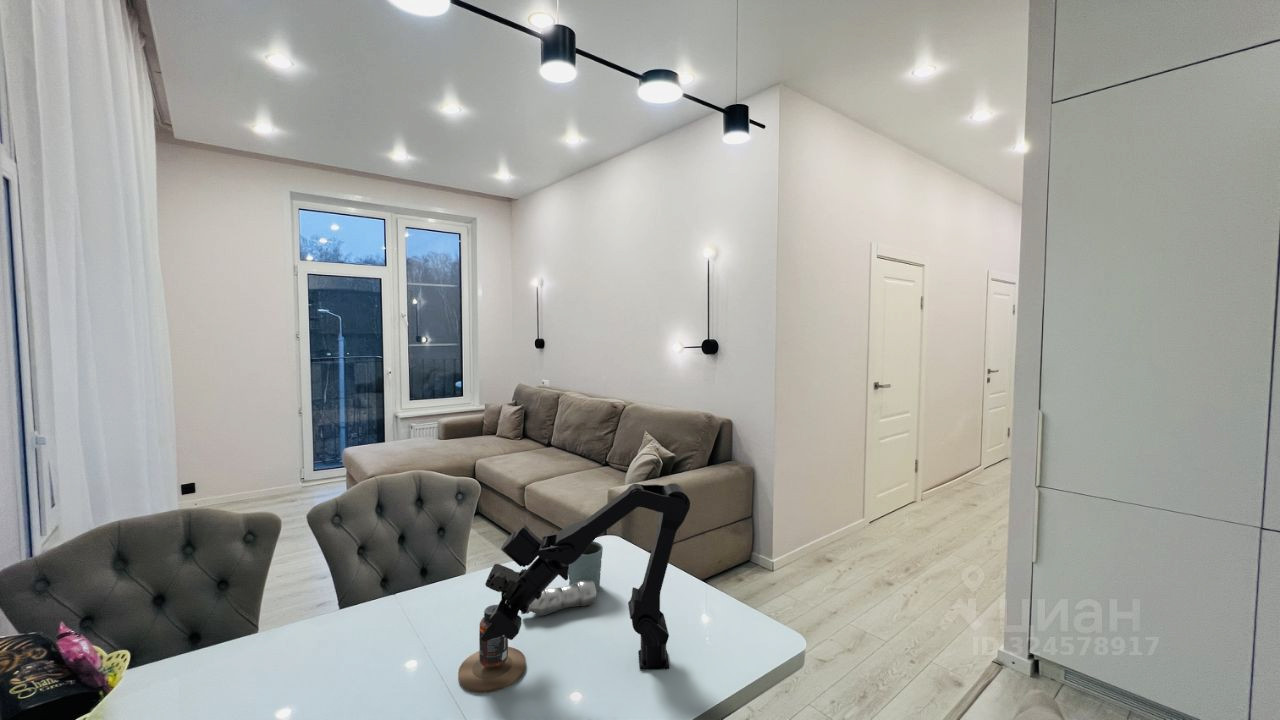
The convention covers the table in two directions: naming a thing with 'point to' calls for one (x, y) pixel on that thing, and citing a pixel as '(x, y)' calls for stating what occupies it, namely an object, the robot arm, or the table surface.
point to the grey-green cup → (587, 566)
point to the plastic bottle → (564, 597)
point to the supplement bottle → (491, 644)
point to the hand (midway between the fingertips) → (486, 631)
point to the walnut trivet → (491, 672)
